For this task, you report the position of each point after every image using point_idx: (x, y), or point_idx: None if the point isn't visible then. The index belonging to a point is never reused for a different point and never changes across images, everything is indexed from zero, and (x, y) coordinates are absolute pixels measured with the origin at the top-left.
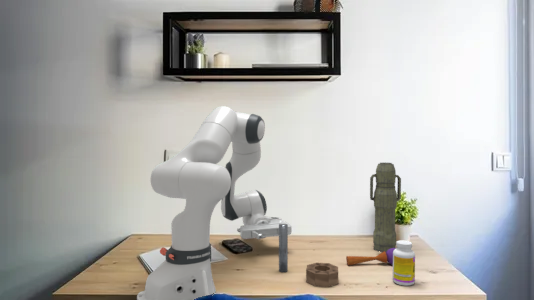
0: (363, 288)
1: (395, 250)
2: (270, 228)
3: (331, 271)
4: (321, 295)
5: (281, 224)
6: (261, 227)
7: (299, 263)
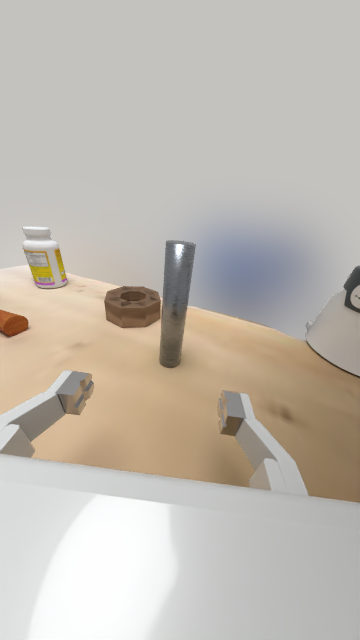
0: None
1: (48, 242)
2: (102, 468)
3: (131, 288)
4: None
5: (184, 244)
6: (193, 536)
7: (98, 380)
